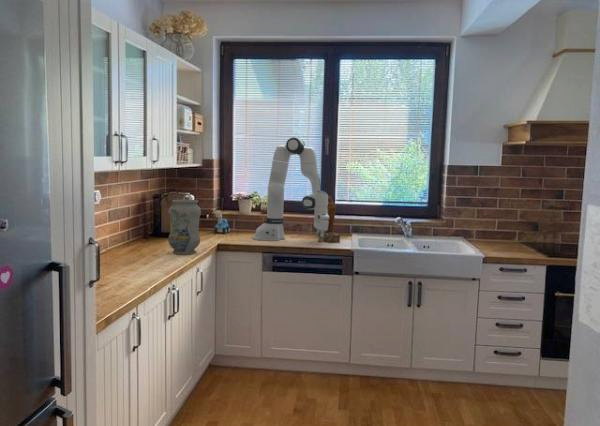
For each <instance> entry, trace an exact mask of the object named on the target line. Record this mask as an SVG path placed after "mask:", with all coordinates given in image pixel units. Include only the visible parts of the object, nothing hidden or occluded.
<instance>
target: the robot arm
mask: <svg viewBox="0 0 600 426" xmlns="http://www.w3.org/2000/svg"><path fill="white" fill-rule="evenodd" d="M292 155H298V157H299V162H300V164H299V165H300V172H301V174H302V176H304V178H307V180H309V181H310V184H311V192H312V193H311V194H308V195H305V196H303V197H302V199H301V205H302V207H303V208H304V209H306V210H314V213H313V214H314V216H313V217H314V218H313V227H314V228H315V230H316V235H317V236H318V229H320V230H321V234H320V236H321V237H322V238H323V236H324V231H327V230H328V223H329V221H328V219H329V215H328V210H327V206H328V196H329V194H328V193H327V192H326V191H323V190H322V188H321V180H320V179H321V178H320V175H319V172H318V171H319V170H318V164H317V160H318V159H317V155H316V150H315V149H314V148H313V147H311V146H306V144H305V141H304V140H303V139H302V138H299V137H296V136H292V137H289V138H288V139H287V141H286V143H285V145H283V144H280V145H278V146H276V147H275V150H274V153H273V157H272V162H271V169H270V175H269V180H268V185H267V204H266V205H267V210H266V217H262V221H263V223H262V224H261V225H260V226H258V227H257V228H256V230H255V234H254V235H252V236H251V239H253V240H256V241H281V240H284V239H285V238H286V237H285V233H284V232H285V231H284V225H285V219H284V206H285V205H284V201H285V185H286V184H285V183H286V179H287V174H288V169H289V164H290V159H291V156H292Z"/></svg>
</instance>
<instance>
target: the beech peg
mask: <svg viewBox="0 0 600 426" xmlns="http://www.w3.org/2000/svg"><path fill="white" fill-rule="evenodd" d="M320 234H321V230H320V229H318V235H317V238H318V239H317V242H318V243H323V240H322V238H323V237H321V236H320Z"/></svg>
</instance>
